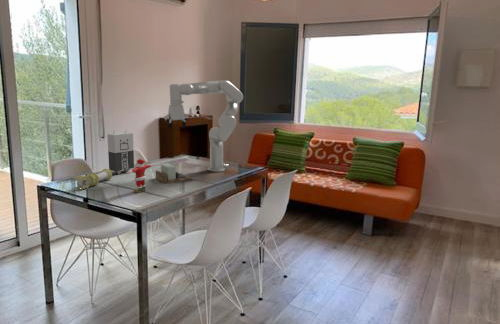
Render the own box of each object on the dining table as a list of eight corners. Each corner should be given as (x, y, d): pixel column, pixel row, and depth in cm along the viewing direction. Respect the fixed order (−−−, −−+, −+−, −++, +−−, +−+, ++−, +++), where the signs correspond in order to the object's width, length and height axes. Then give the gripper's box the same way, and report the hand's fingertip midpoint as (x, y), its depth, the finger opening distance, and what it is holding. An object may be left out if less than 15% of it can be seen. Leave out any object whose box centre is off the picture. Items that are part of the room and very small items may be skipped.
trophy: (102, 167, 238) (70, 177, 209) (112, 168, 236) (81, 178, 207) (102, 179, 239) (71, 191, 210) (113, 180, 238) (82, 192, 209)
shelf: (181, 175, 254) (181, 168, 253) (191, 180, 241) (191, 172, 240) (155, 178, 245) (155, 170, 244) (164, 183, 231) (164, 175, 231)
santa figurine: (149, 185, 225) (148, 155, 222) (157, 186, 223) (157, 156, 220) (122, 196, 202) (120, 162, 199) (131, 197, 200) (129, 163, 197)
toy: (116, 175, 250) (114, 130, 244) (109, 173, 254) (107, 129, 248) (134, 171, 262) (132, 129, 256) (127, 170, 266) (125, 128, 260)
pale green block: (168, 175, 247) (168, 163, 246) (175, 179, 237) (175, 166, 236) (161, 176, 244) (161, 164, 243) (168, 179, 235) (167, 167, 233)
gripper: (185, 102, 257) (186, 127, 261) (161, 103, 248) (162, 128, 251) (190, 102, 251) (191, 128, 255) (165, 103, 242) (167, 129, 245)
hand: (177, 128), depth 253 cm, fingers open, 9 cm apart
